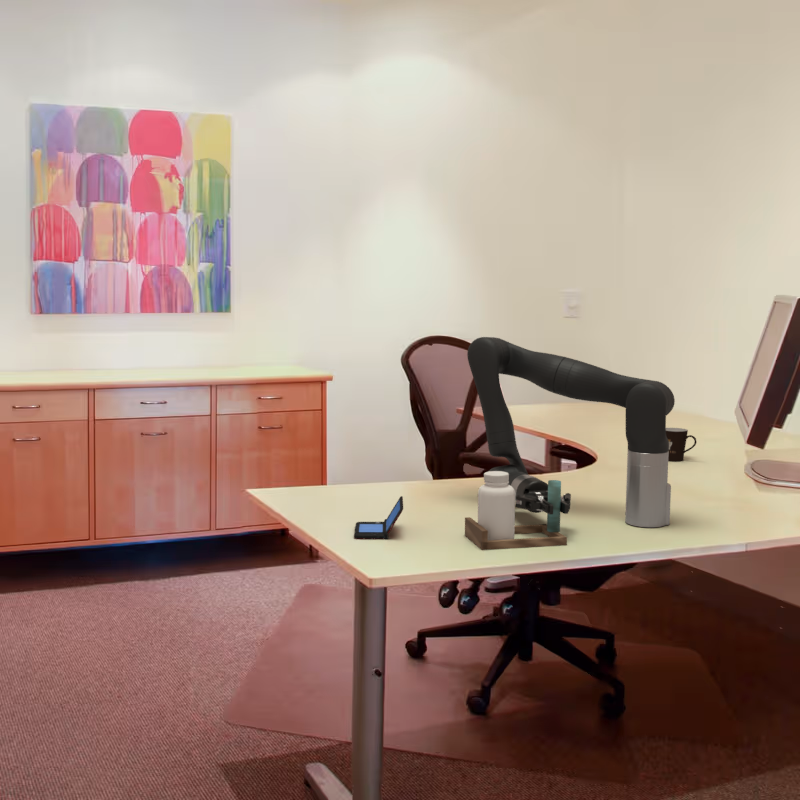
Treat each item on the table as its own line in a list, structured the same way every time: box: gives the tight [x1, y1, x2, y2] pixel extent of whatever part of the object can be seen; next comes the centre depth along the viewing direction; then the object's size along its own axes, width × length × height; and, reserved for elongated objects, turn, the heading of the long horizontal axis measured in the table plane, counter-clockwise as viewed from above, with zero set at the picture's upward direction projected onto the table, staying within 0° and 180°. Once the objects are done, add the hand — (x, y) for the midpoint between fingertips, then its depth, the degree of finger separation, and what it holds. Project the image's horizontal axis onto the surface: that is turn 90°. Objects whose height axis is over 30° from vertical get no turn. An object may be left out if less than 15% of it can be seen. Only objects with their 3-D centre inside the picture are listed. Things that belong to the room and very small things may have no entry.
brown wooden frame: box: [464, 479, 568, 551], centre depth 204 cm, size 20×12×13 cm, turn 103°
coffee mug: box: [666, 427, 697, 463], centre depth 304 cm, size 12×9×10 cm
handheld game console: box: [353, 495, 404, 540], centre depth 210 cm, size 12×11×7 cm
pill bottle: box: [477, 470, 516, 540], centre depth 203 cm, size 8×8×15 cm
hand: (559, 509), depth 203 cm, fingers closed on brown wooden frame, 3 cm apart
